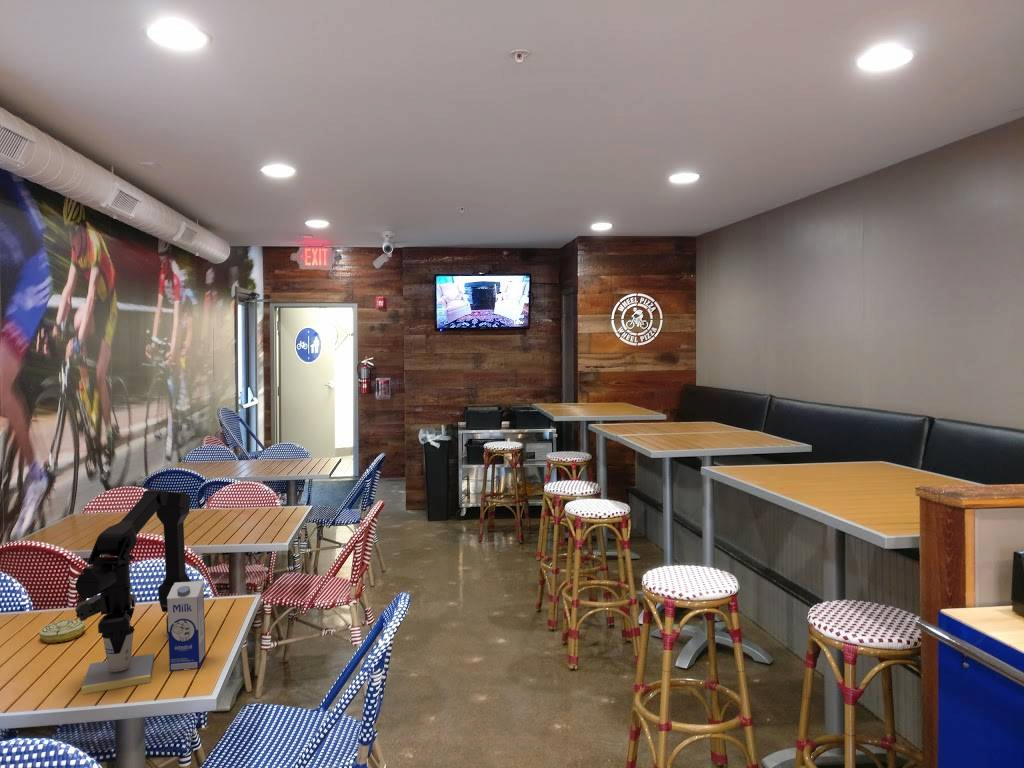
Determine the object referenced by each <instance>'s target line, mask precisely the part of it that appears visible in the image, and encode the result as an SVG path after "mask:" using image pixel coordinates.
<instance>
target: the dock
mask: <svg viewBox="0 0 1024 768" xmlns="http://www.w3.org/2000/svg"><path fill="white" fill-rule="evenodd" d="M154 662H155V653H150V654H149V653H148V654H143V655H142V654H141V655H136V656H131V663H130V667H129V668H127V669H125V670H122V671H116V672H112V671H109V669H108V663H107V660H104V661H99V662H93V663H89V667H88V669H87V672H86V674H85V678H84V681H83V683H82V686H81V695H87V694H88V695H89V694H92V693H98V692H105V691H109V690H116V689H121V687H122V688H127V686H128V687H133V686H139V685H145V684H149V683H151V682H152V676H153V670H152V669H154V664H155V663H154ZM132 685H133V686H132Z"/></svg>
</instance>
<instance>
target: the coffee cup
mask: <svg viewBox="0 0 1024 768" xmlns="http://www.w3.org/2000/svg"><path fill="white" fill-rule="evenodd" d="M134 632H135V627H134V626H132V625H130V628H129V630H128V633H127V636H126V638H125V641H124V644H123V646H122V649H121V652H120V653H119V654H115V653H114V650H113V647H112V644H111V641H110V639H109V636H108V635H106V634H105V633H101V637H102V640H103V645H104V651H105V657H106V661H107V663H108V669H109V671H112V672H116V671H122V670H125V669H127V668H129V667H130V663H131V657H132V650H133V640H134Z"/></svg>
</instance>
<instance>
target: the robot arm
mask: <svg viewBox="0 0 1024 768" xmlns="http://www.w3.org/2000/svg"><path fill="white" fill-rule="evenodd" d="M190 507H191V497H190V494H188V493H187V492H186V491H167V490H164V489H148V490H145V491H144V492H143V494H142V497H141V498H140V499H139V501H137V502H136V503H135V505H134V506H133V507H132V508H131V509H130V510H129V511H128V512H127V513H126V515H125V516H124V517H123V518H122V519H121V521H119V522H118V523H115V524H113V525H111V526H108V527H107V528H106V529H104V530H103V531H102V532H100V533H99V535H98V536H97V538H96V540H95V543H94V546H93V548H92V550H91V553H90V555H89V559H88V561H87V565H89V566H86V567H84V568H83V573H82V574H80V575H79V576H78V577H77V579H76V582H75V583H74V584H75V591H76V593H77V594H78V595H79V596H80V597H82V598H85V600H84V601H81V602H79V603H78V604H77V605H76V607H75V609H74V610H75V612H76V618H79V619H78V620H80V621H87V619H88V618H91V617H93V616H96V615H97V614H99V613H100V615H101V616H102V615H103V616H102V617H101V618H100V619H99V621H98V623H97V631H98V634H102V633H105V634H106V635H108V636H109V639H110V641H111V644H112V647H113V650H114V653H115V654H119V653H120V652H121V649H122V646H123V644H124V641H125V638H126V636H127V633H128V630H129V628H130V626H131V625H132V624H131V620H132V618H133V615H134V611H135V607H136V596H135V595H133V593H131V591H132V583H131V574H130V573H131V572H130V568H131V567H130V562H131V561H133V560H134V559H135V556H134V555H132V554H131V553H132V551H133V549H134V548H135V547H136V545H137V543H138V534H139V533H140V531H142V529H143V528H144V527H145V525H146V524H147V523H148V522H149V521H150V519H151V518H152V517H153V516H154V515H155V514H156V517H157V519H158V520H159V521H160V523H161V525H163V539H164V540H163V541H164V562H165V563H164V564H165V565H164V566H165V578H164V580H163V581H162V583H161V584H160V585H158V588H157V590H158V597H157V598H158V599H157V600H158V602H159V605H160V609H161V612H162V613H168V606H167V597H168V595H169V592H170V590H171V588H172V586H173V585H174V583H177V582H193V581H192V580H191V579H190V577H189V576H188V574H187V573H186V557H185V556H186V554H185V553H186V551H185V549H186V547H185V531H184V530H185V529H184V525H185V524H184V522H185V521H186V519H187V517H188V515H189V513H190ZM165 620H166V633H167V634H168V614H167V615H166V619H165Z"/></svg>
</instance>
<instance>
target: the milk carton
mask: <svg viewBox="0 0 1024 768" xmlns="http://www.w3.org/2000/svg"><path fill="white" fill-rule="evenodd" d="M204 583H205V581H204V580H198V581H197V580H196V581H192V582H177V583H174V585H173V586H172V588H171V590H170V592H169V595H168V597H167V606H168V612H167V615H168V633H167V634H168V659H169V660H168V664H169V665H168V666H169V667H168V668H169V672H174V670H178V671H185V670H184V669H190V670H194V669H193V668H199V667H201V666H202V664H203V663H204V661H205V659H206V658H205V657H206V623H205V622H206V620H205V619H206V618H205V595H204V594H205V593H204V592H205V591H204V587H205V586H204ZM203 660H204V661H203ZM202 662H203V663H202ZM200 665H201V666H200ZM199 669H200V668H199Z"/></svg>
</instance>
